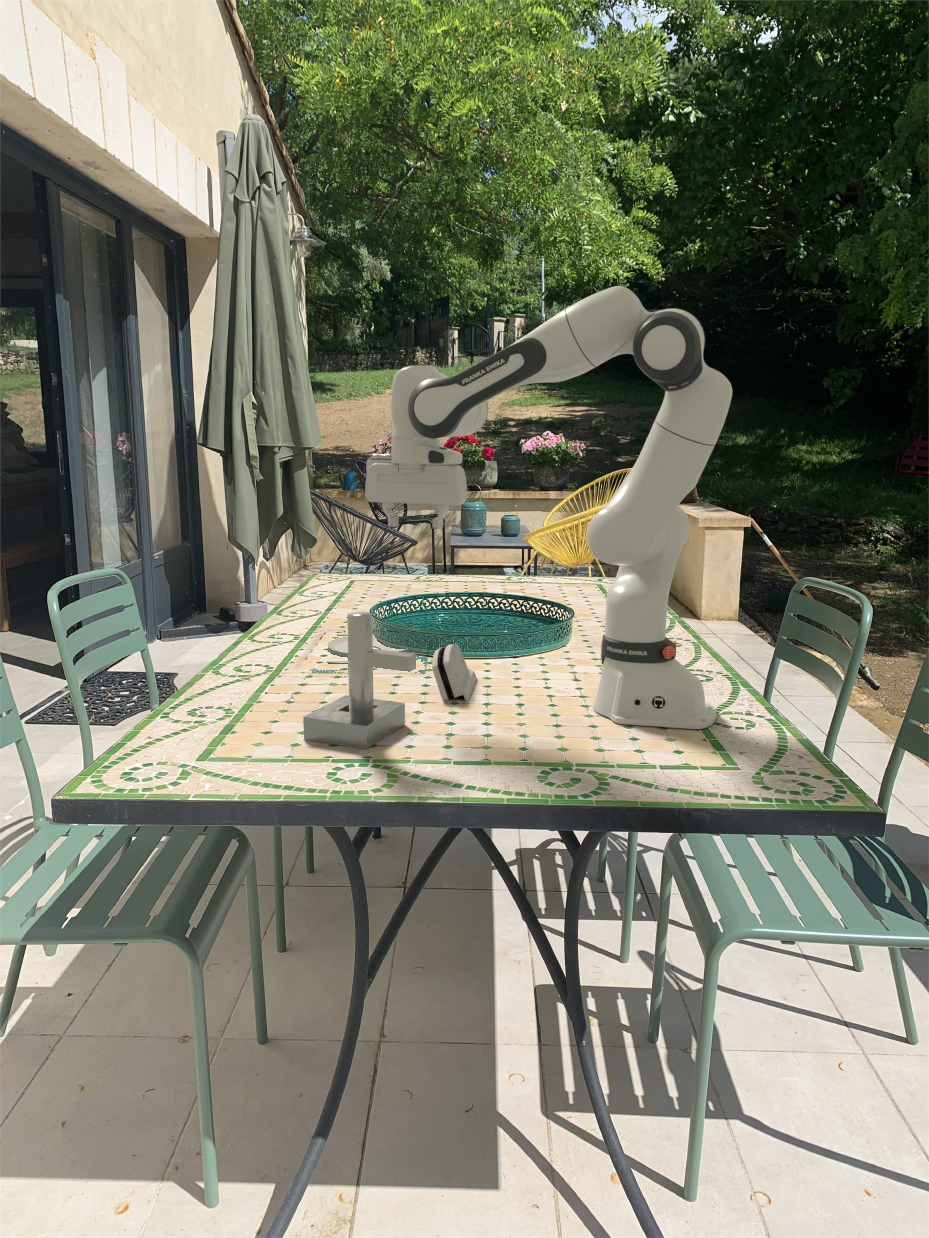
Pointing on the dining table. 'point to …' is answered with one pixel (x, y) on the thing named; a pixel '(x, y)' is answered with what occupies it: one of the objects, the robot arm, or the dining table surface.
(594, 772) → the dining table surface
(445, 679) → the grey rounded block
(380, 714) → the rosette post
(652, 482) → the robot arm
